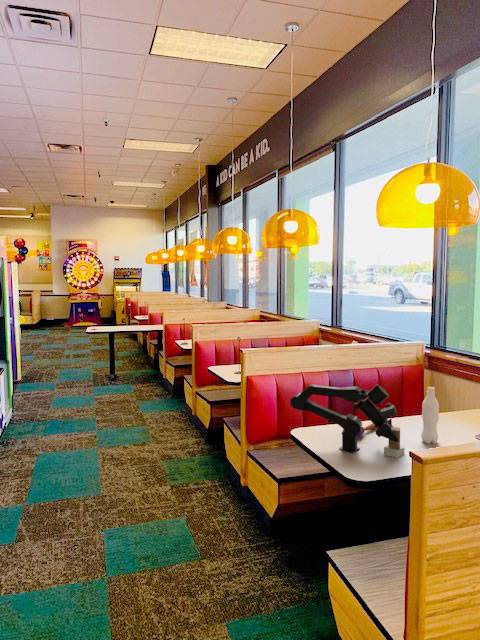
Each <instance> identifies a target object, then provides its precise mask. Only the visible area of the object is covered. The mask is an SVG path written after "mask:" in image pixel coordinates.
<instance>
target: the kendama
mask: <svg viewBox="0 0 480 640" xmlns="http://www.w3.org/2000/svg"><path fill="white" fill-rule="evenodd" d="M365 431H376V427H375V425H374V424H373V423H372V422H371V424H369V425H367V426H365V427H363V426H362V427H361V430H360V432H359V433H358V434H356V435H357V439H360V438H361V437H363V435H364V433H365Z"/></svg>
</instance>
